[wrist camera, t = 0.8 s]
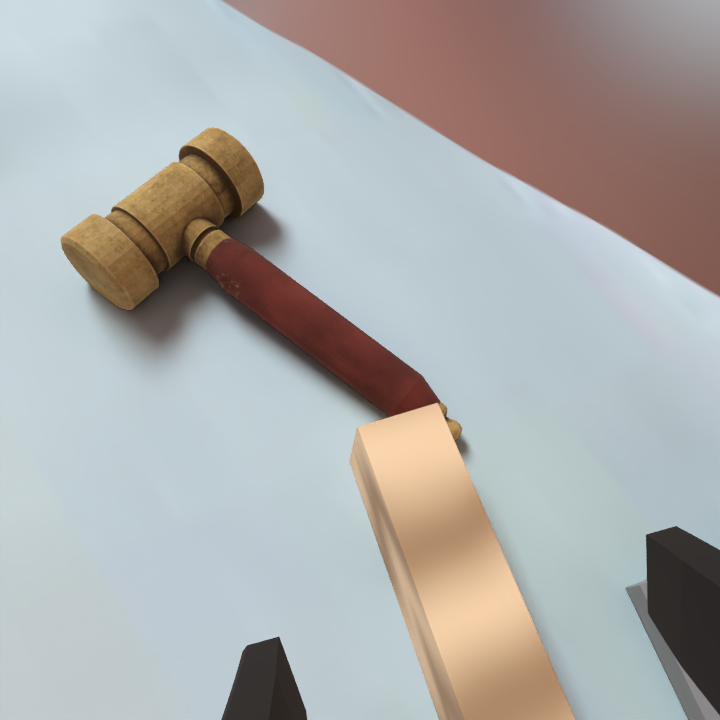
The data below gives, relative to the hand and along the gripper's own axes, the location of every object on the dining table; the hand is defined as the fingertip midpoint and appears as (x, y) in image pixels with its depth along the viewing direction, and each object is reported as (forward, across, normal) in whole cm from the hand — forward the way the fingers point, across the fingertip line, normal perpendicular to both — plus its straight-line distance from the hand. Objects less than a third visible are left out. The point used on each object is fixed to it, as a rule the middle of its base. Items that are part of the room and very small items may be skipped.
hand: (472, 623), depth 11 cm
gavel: (+22, +3, 0) cm, 22 cm away
